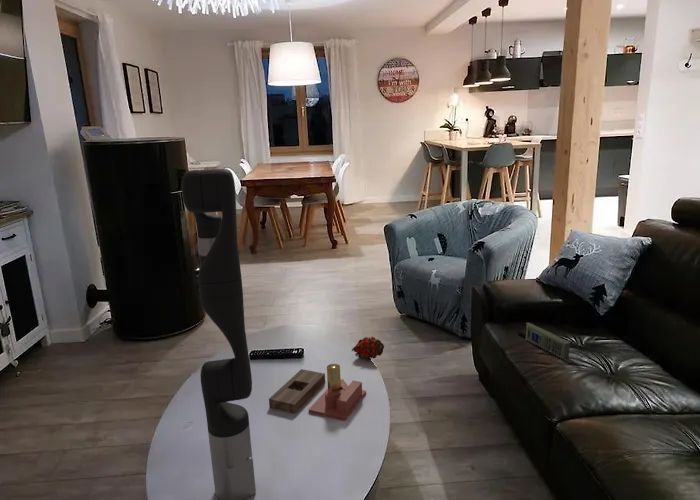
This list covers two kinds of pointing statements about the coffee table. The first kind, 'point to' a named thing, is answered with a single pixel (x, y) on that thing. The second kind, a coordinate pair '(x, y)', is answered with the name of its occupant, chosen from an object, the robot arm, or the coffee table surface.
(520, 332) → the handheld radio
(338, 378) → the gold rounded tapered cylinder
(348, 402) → the V-block
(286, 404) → the brown flat block
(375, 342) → the dragon fruit
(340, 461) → the coffee table surface
